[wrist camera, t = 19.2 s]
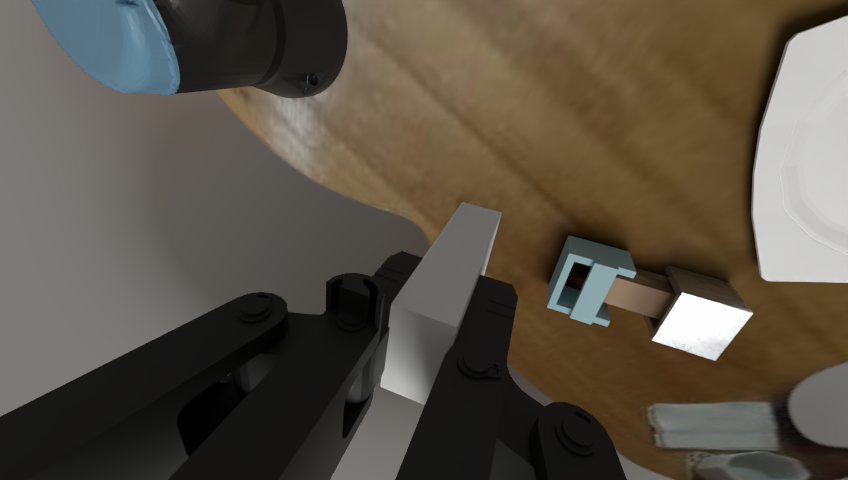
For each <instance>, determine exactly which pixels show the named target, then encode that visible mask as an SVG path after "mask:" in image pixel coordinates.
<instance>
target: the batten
mask: <svg viewBox="0 0 848 480" xmlns="http://www.w3.org/2000/svg"><path fill="white" fill-rule="evenodd" d="M635 269H636V272H637V273H636V275H635V276H634V278H630V277H626V276H623V275H619V274H617V275H616V277H615V279H614V281H613V283H612V285H611V287H610V289H609V291H608V293H607V295H606V297H605V299H604V301H603V302H605V303H608V304H611V305H614V306H617V307H621V308H624V309H627V310H630V311H633V312H637V313H640V314H643V315H646V316H649V317H653V318H656V319H659V320H662V318H663V317H664V315H665V314H666V312H667V310H668V309H669V307H670V306H671V304H672V303H673V301H674V299H675V298H676V296H677V295H676V293H675V291H674V289H673V287H672V285H671V283H670V281H669V279H668V277H666V276H662V275H659V274H655V273H652V272H648V271H645V270H641V269H638V268H635Z"/></svg>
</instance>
